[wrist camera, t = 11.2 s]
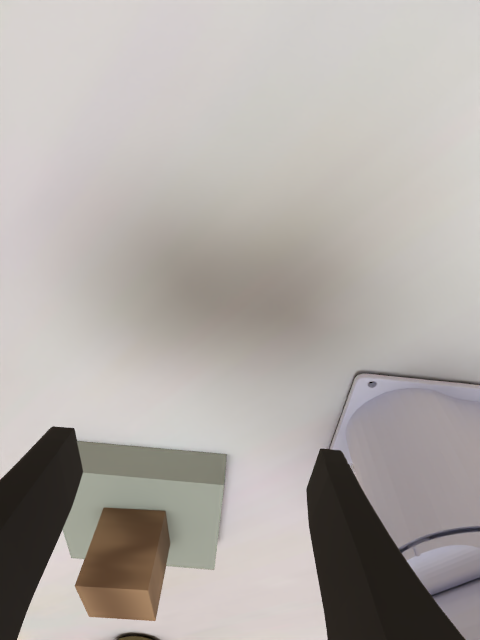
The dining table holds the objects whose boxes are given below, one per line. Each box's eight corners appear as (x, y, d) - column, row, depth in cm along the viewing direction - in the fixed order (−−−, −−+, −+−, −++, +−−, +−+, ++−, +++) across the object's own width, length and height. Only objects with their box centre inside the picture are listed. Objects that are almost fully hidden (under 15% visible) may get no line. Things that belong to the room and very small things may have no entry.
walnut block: (165, 510, 27) (148, 590, 23) (170, 543, 29) (155, 620, 25) (103, 507, 27) (74, 586, 23) (113, 540, 29) (89, 616, 25)
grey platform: (227, 448, 28) (224, 485, 25) (217, 533, 34) (214, 569, 32) (63, 433, 27) (44, 469, 25) (85, 522, 34) (71, 557, 31)
